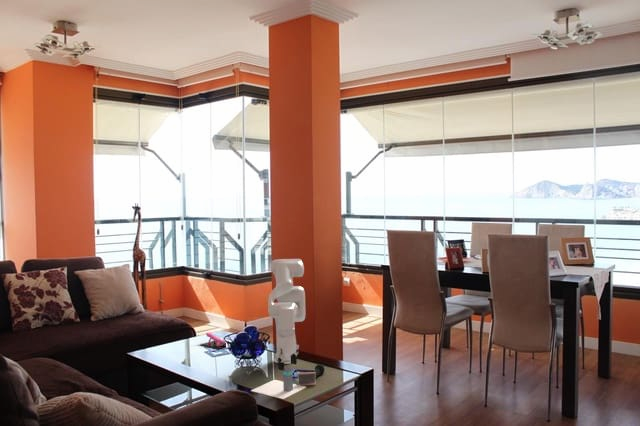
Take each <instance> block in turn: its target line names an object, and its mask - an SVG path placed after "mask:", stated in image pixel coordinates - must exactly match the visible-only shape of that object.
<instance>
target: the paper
mask: <svg viewBox="0 0 640 426" xmlns="http://www.w3.org/2000/svg"><path fill="white" fill-rule="evenodd" d="M304 389H307V386H306V385H303V386H300V385H298V384H297V383H293V390H292V391H290V392H287V391H284V387H283V380H278V379H273V380H271V381H269V382H266V383H265V384H262V385H260V386H257V387H255V388H253V389H251V390H250V392H253V393H256V394H261V395H265V396H268V397H274V398H276V399H281V400H285V399H287V398H289V397H291V396H293V395H294V394H297V393H298V392H300V391H303V390H304Z"/></svg>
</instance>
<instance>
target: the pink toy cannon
mask: <svg viewBox="0 0 640 426" xmlns="http://www.w3.org/2000/svg"><path fill="white" fill-rule="evenodd" d="M205 335H206V337H208V338H209V339H208V341H207V342H203V343H201V344H199V345H198V346H199V347H204V348H208V349H211V348H212V349H211V350H215V349H216V351H221V350H223V349H226V343H225V340H226V339H223V338H220V337H219V336H217V335H215V334H213V333H212V332H211V331H209V332H206V333H205ZM220 349H221V350H220Z"/></svg>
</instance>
